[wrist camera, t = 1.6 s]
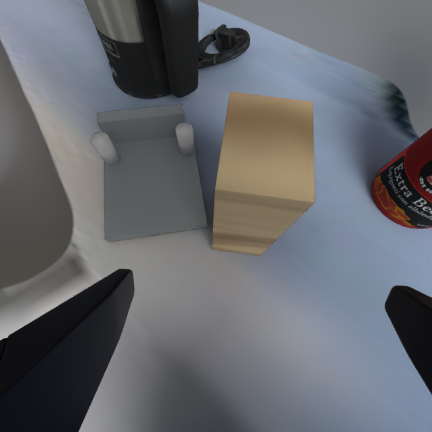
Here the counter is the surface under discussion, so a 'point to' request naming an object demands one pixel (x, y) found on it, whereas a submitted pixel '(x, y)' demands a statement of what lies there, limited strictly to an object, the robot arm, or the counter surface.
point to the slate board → (149, 172)
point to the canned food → (407, 185)
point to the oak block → (262, 171)
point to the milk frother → (159, 44)
